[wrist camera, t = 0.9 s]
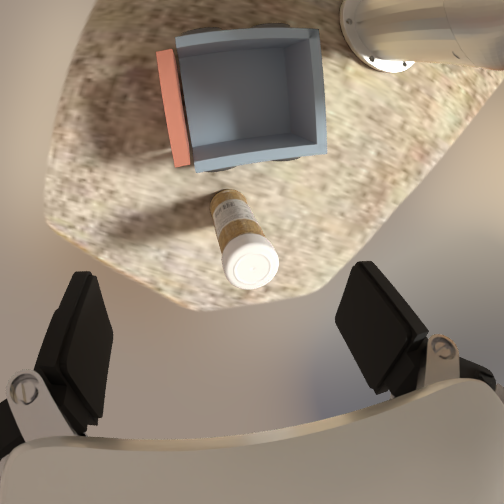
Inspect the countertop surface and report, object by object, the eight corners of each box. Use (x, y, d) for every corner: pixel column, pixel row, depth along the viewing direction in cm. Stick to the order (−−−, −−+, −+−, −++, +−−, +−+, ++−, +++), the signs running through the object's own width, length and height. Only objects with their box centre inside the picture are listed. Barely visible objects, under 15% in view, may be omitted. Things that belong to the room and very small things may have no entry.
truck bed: (287, 30, 24) (316, 15, 18) (297, 150, 32) (327, 167, 26) (176, 39, 23) (173, 22, 16) (195, 166, 31) (198, 188, 24)
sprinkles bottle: (216, 227, 36) (234, 298, 24) (204, 195, 33) (216, 256, 22) (251, 215, 36) (285, 280, 25) (241, 182, 33) (273, 236, 22)
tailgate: (176, 61, 24) (172, 48, 16) (188, 144, 29) (190, 164, 21) (164, 64, 24) (155, 52, 16) (178, 147, 29) (175, 167, 21)
